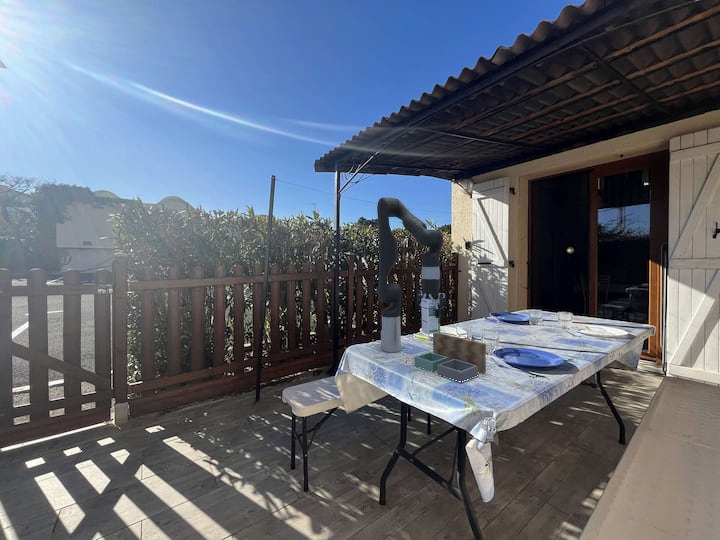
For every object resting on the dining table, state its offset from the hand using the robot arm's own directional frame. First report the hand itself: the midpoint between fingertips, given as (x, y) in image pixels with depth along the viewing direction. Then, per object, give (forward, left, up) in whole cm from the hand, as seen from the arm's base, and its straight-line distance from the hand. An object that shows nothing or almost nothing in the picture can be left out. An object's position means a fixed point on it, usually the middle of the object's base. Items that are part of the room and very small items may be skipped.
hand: (430, 316), depth 132 cm
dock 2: (+13, 0, -21) cm, 25 cm away
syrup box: (0, 0, -7) cm, 7 cm away
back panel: (+7, +9, -21) cm, 24 cm away
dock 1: (0, 0, -21) cm, 21 cm away
